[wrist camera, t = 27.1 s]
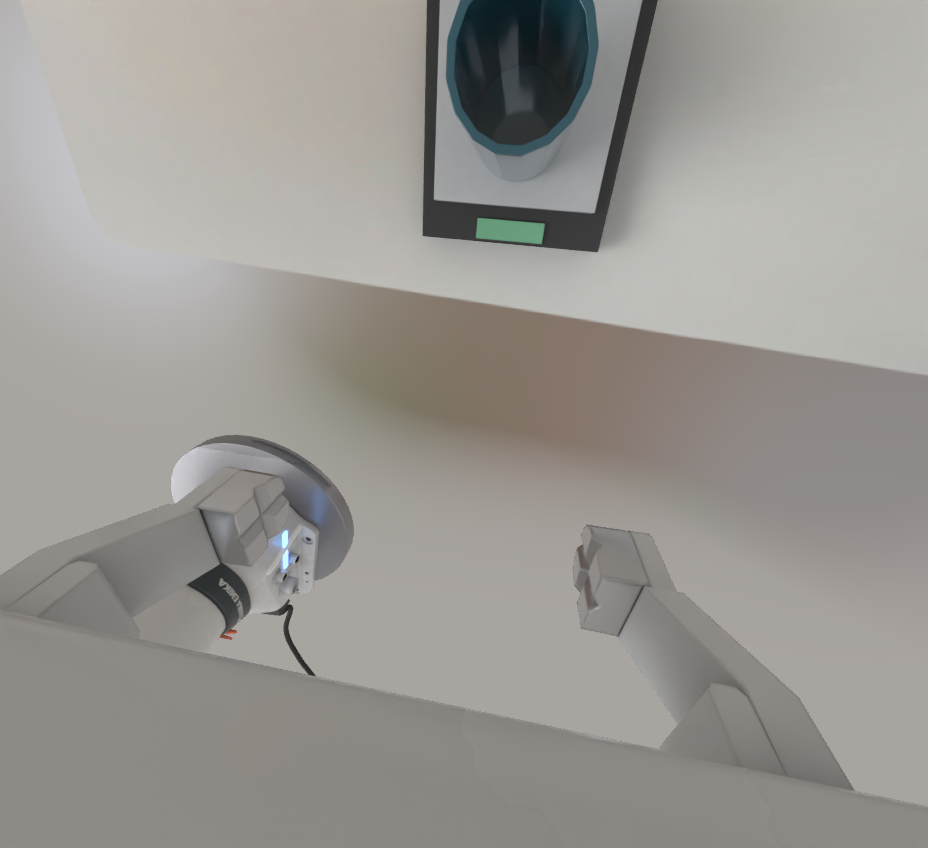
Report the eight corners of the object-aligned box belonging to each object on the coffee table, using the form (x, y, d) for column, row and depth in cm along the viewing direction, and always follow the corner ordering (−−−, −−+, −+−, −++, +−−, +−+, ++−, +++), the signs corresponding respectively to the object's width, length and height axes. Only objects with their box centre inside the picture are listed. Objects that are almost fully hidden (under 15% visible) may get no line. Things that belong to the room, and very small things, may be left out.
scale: (592, 250, 29) (599, 252, 27) (429, 235, 31) (420, 235, 28) (648, 9, 23) (665, -22, 20) (435, 2, 24) (424, -28, 21)
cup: (557, 185, 25) (577, 159, 16) (469, 178, 26) (442, 149, 17) (579, 62, 22) (617, -51, 13) (478, 57, 22) (450, -54, 14)
